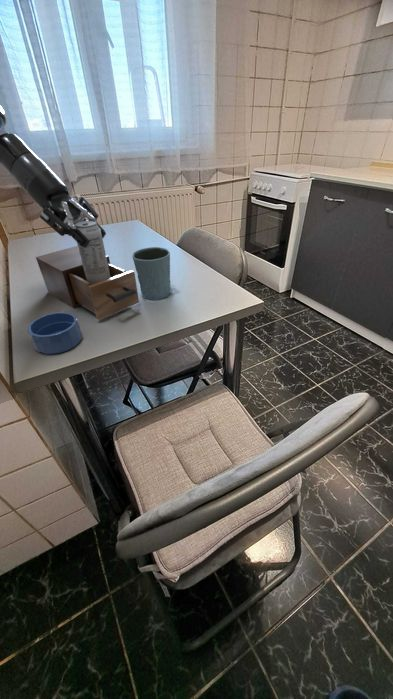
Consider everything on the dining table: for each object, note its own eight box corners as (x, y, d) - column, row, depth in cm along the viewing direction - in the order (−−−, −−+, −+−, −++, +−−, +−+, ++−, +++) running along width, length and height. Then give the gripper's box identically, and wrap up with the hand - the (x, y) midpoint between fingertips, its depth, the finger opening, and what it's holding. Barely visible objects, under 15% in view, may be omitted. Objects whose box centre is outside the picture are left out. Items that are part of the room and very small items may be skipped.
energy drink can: (113, 278, 80) (101, 219, 71) (109, 287, 75) (95, 226, 66) (91, 279, 80) (76, 220, 71) (85, 288, 75) (68, 227, 66)
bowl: (48, 361, 62) (39, 342, 59) (28, 343, 68) (19, 324, 65) (90, 340, 68) (85, 322, 65) (69, 325, 74) (63, 307, 71)
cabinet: (116, 291, 88) (108, 256, 82) (73, 308, 81) (62, 271, 74) (88, 277, 97) (80, 245, 91) (48, 292, 89) (35, 257, 83)
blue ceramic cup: (177, 287, 89) (175, 248, 82) (165, 303, 82) (161, 261, 75) (147, 284, 92) (142, 245, 85) (132, 299, 84) (125, 258, 77)
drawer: (148, 307, 78) (144, 275, 73) (108, 326, 71) (100, 292, 66) (109, 287, 89) (102, 258, 83) (70, 302, 82) (60, 271, 76)
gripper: (19, 173, 59) (83, 238, 63) (67, 165, 70) (119, 222, 73) (10, 200, 64) (69, 260, 67) (56, 189, 74) (106, 241, 78)
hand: (95, 240), depth 70 cm, fingers closed on energy drink can, 6 cm apart
